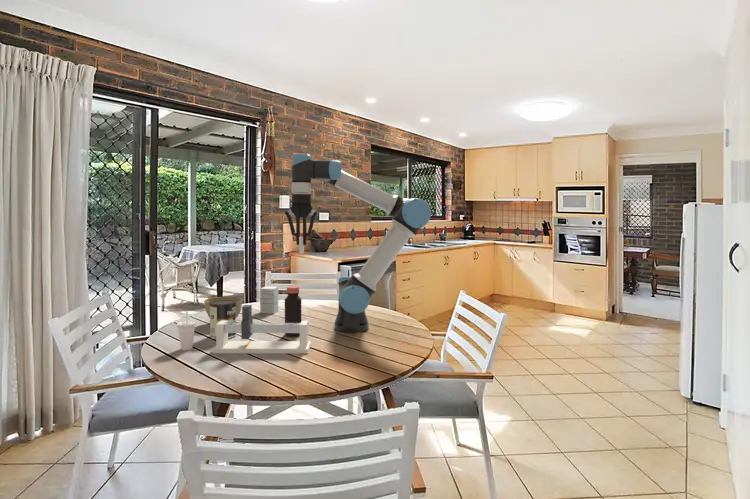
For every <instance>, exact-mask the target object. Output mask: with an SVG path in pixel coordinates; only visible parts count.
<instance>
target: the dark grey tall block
mask: <svg viewBox="0 0 750 499" xmlns="http://www.w3.org/2000/svg"><path fill="white" fill-rule="evenodd" d="M252 310H253V309H252V304H245V305H242V307H241V318H242V319H241V322H240V323H241V333H240V335H241V340H249V339H250V338H251V336H252V335H253V334H254V333H249V324H250V323H254V322H253V316H252V313H253V311H252Z"/></svg>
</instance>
